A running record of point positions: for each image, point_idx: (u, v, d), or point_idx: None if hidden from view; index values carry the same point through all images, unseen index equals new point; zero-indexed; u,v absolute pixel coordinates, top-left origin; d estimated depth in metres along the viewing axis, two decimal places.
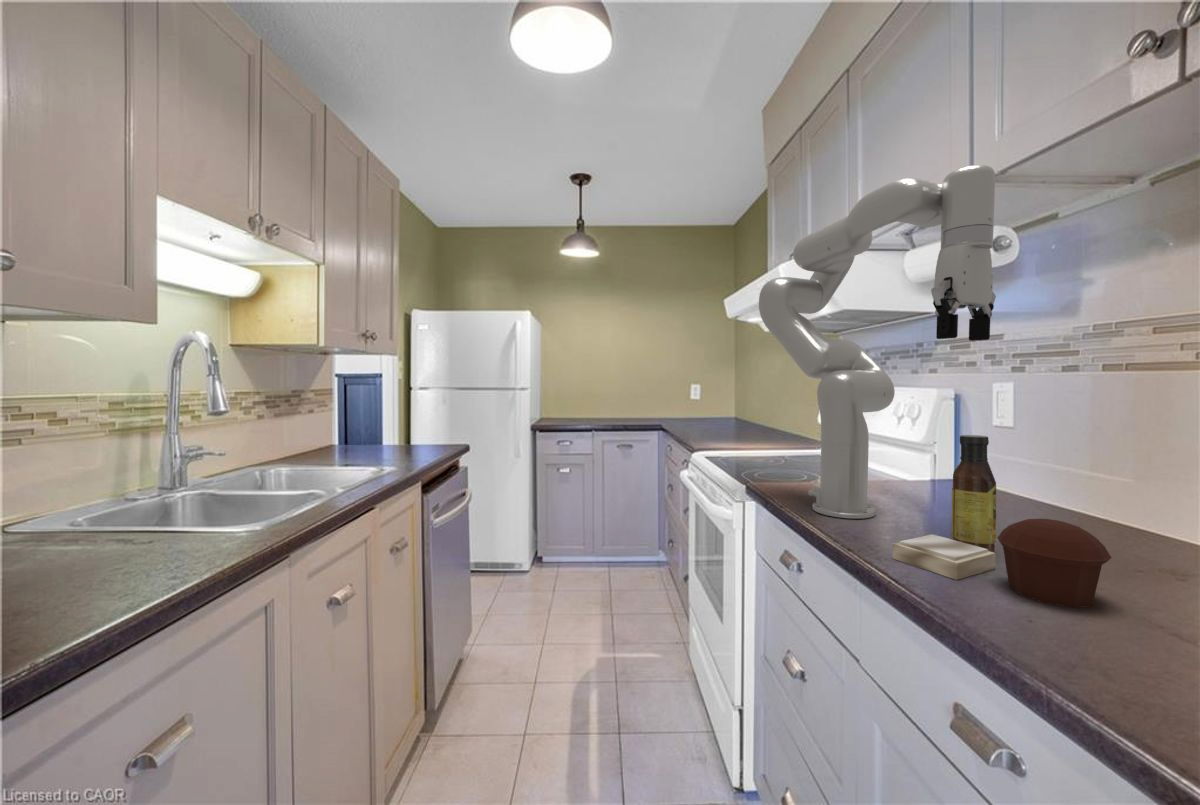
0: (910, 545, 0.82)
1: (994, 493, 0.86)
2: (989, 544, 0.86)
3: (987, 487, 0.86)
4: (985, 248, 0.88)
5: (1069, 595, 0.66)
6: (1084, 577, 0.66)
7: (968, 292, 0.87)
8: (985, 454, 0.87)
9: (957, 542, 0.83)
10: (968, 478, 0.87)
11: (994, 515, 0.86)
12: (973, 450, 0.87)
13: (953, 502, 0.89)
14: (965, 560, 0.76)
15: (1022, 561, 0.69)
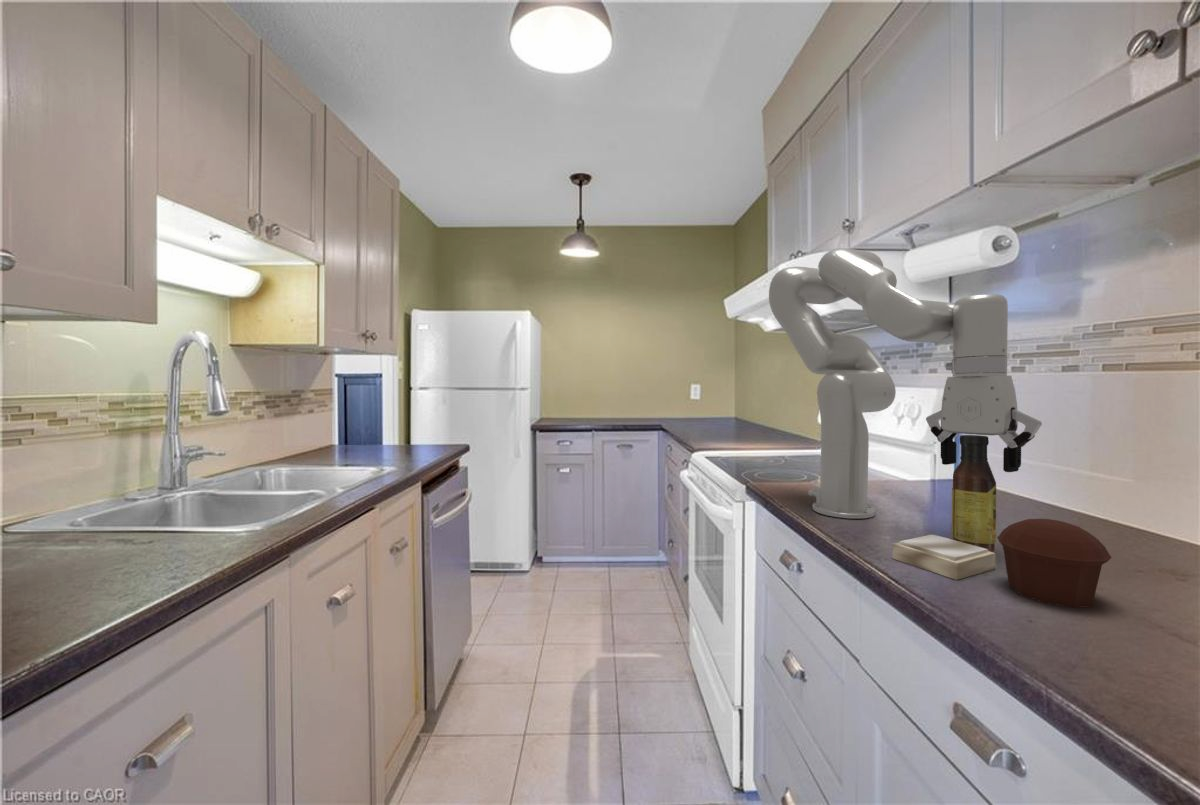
0: (910, 545, 0.82)
1: (994, 493, 0.86)
2: (989, 544, 0.86)
3: (987, 487, 0.86)
4: None
5: (1069, 595, 0.66)
6: (1084, 577, 0.66)
7: None
8: (985, 454, 0.87)
9: (957, 542, 0.83)
10: (968, 478, 0.87)
11: (994, 515, 0.86)
12: (973, 450, 0.87)
13: (953, 502, 0.89)
14: (965, 560, 0.76)
15: (1022, 561, 0.69)
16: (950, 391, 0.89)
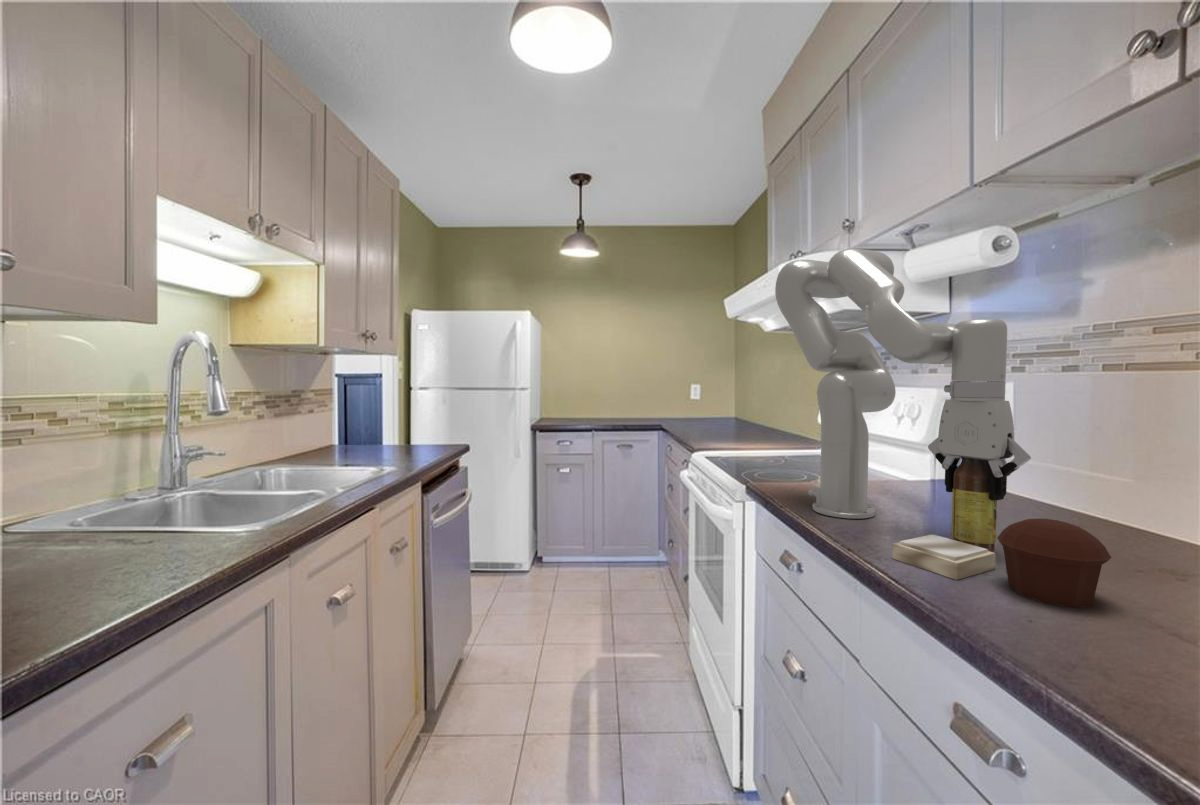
0: (910, 545, 0.82)
1: None
2: (989, 544, 0.86)
3: (988, 488, 0.85)
4: None
5: (1069, 595, 0.66)
6: (1084, 577, 0.66)
7: None
8: None
9: (957, 542, 0.83)
10: (969, 478, 0.87)
11: (994, 515, 0.86)
12: None
13: (953, 502, 0.89)
14: (965, 560, 0.76)
15: (1022, 561, 0.69)
16: (948, 414, 0.90)
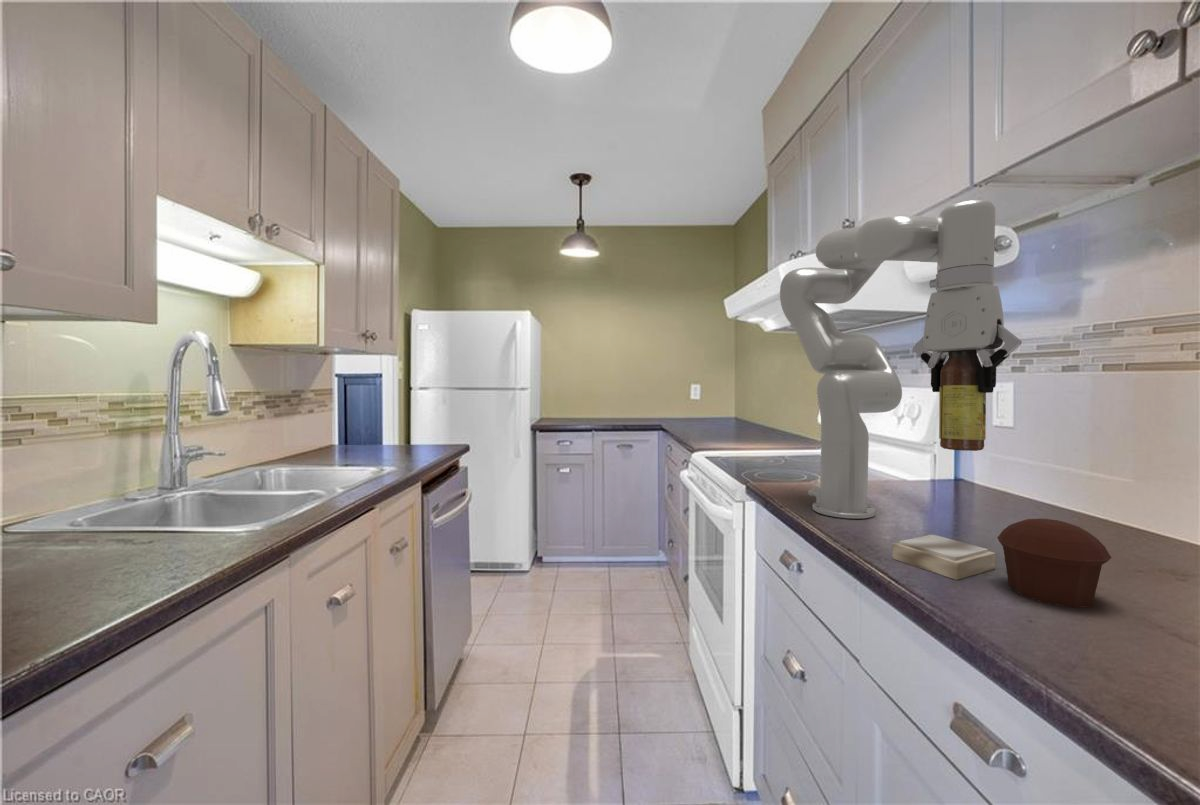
0: (910, 545, 0.82)
1: None
2: (979, 440, 0.81)
3: (977, 380, 0.80)
4: None
5: (1069, 595, 0.66)
6: (1084, 577, 0.66)
7: None
8: None
9: (957, 542, 0.83)
10: (957, 371, 0.81)
11: (984, 410, 0.81)
12: None
13: (941, 400, 0.84)
14: (965, 560, 0.76)
15: (1022, 561, 0.69)
16: (934, 307, 0.84)
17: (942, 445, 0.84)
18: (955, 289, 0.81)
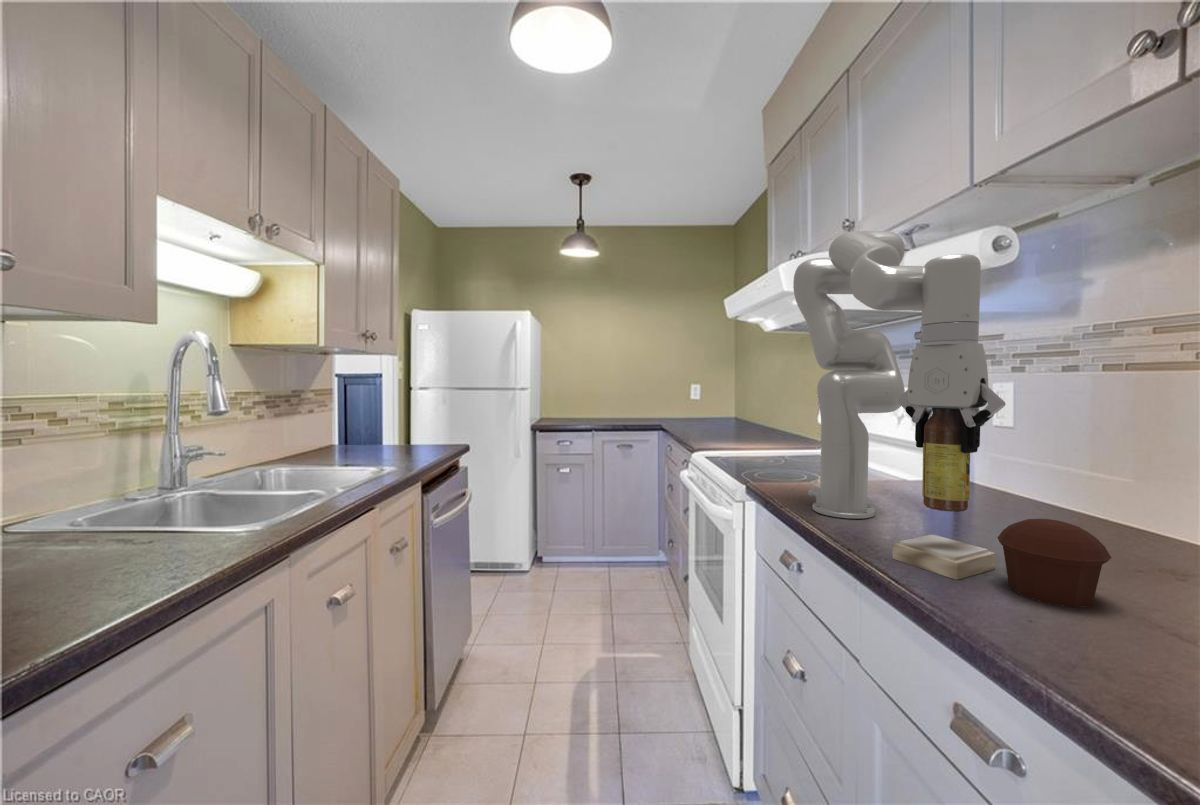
0: (910, 545, 0.82)
1: None
2: (961, 501, 0.78)
3: (960, 439, 0.78)
4: None
5: (1069, 595, 0.66)
6: (1084, 577, 0.66)
7: None
8: None
9: (957, 542, 0.83)
10: (939, 429, 0.79)
11: (967, 470, 0.79)
12: None
13: (924, 457, 0.82)
14: (965, 560, 0.76)
15: (1022, 561, 0.69)
16: (917, 361, 0.82)
17: (925, 503, 0.81)
18: (938, 345, 0.79)
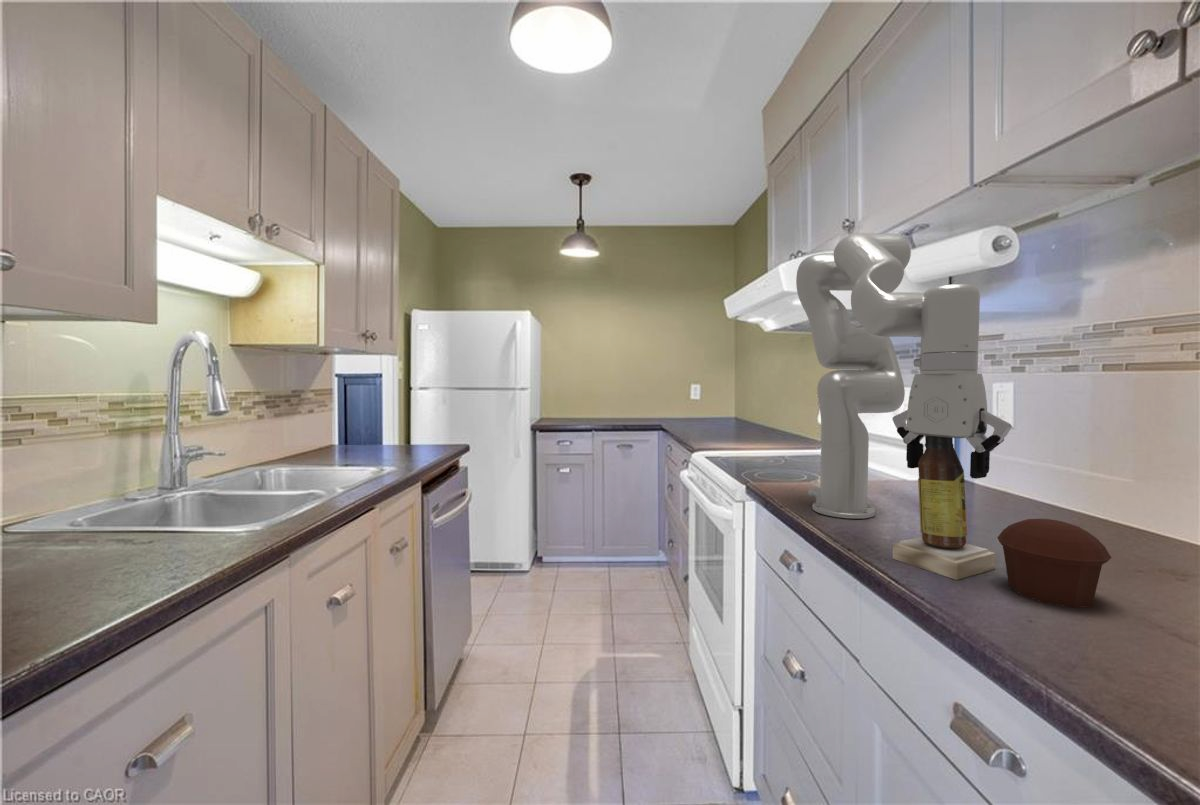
0: (910, 545, 0.82)
1: (962, 481, 0.79)
2: (959, 537, 0.79)
3: (953, 475, 0.79)
4: None
5: (1069, 595, 0.66)
6: (1084, 577, 0.66)
7: None
8: (950, 440, 0.81)
9: None
10: (933, 465, 0.80)
11: (963, 505, 0.79)
12: (937, 436, 0.81)
13: (920, 493, 0.83)
14: (965, 560, 0.76)
15: (1022, 561, 0.69)
16: (917, 389, 0.82)
17: (923, 540, 0.82)
18: (937, 374, 0.79)
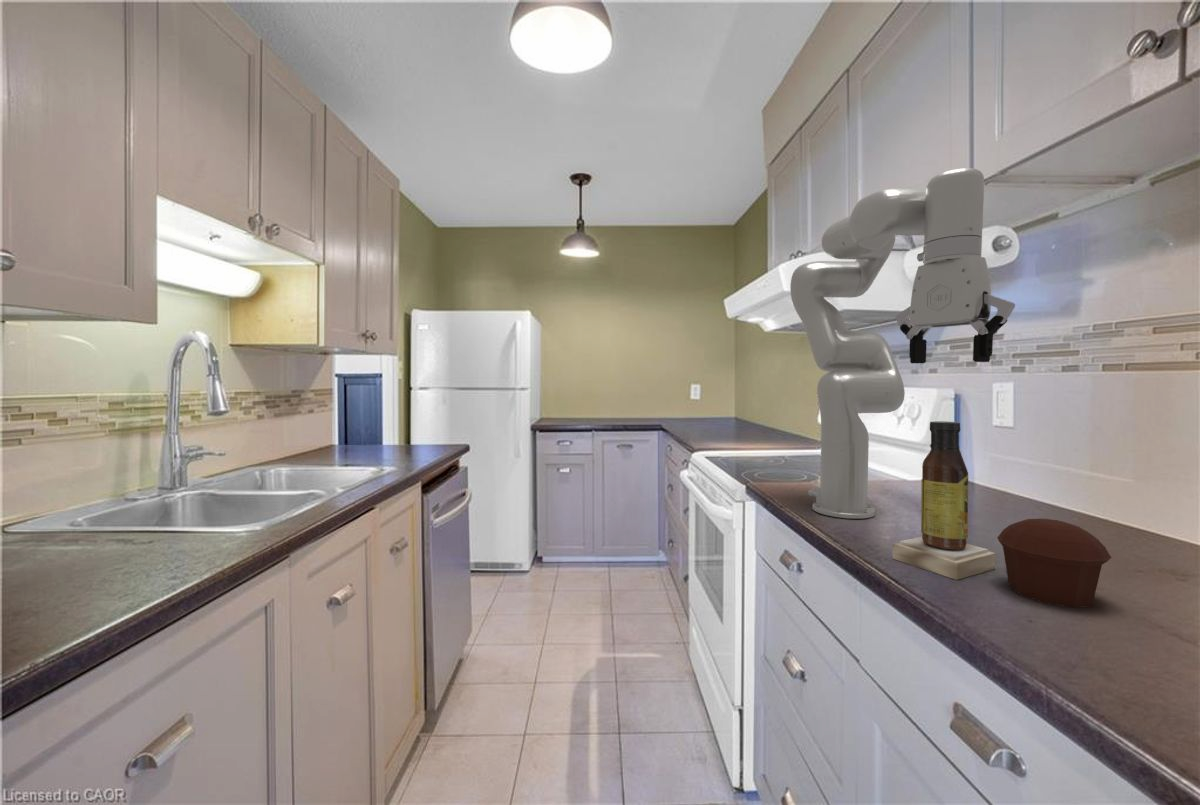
0: (910, 545, 0.82)
1: (965, 484, 0.79)
2: (960, 539, 0.79)
3: (957, 478, 0.79)
4: None
5: (1069, 595, 0.66)
6: (1084, 577, 0.66)
7: None
8: (956, 441, 0.80)
9: None
10: (937, 467, 0.80)
11: (965, 508, 0.79)
12: (943, 437, 0.80)
13: (922, 494, 0.82)
14: (965, 560, 0.76)
15: (1022, 561, 0.69)
16: (920, 281, 0.82)
17: (923, 540, 0.82)
18: (941, 261, 0.79)
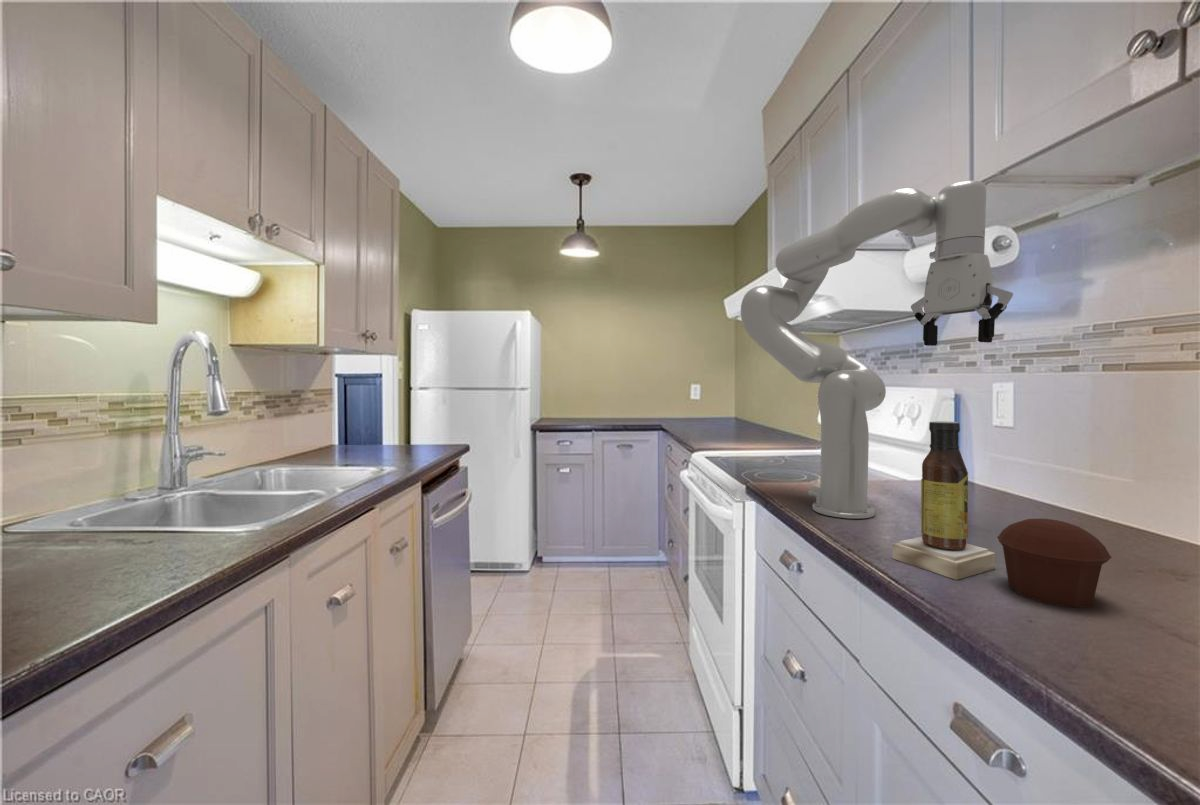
0: (910, 545, 0.82)
1: (965, 484, 0.79)
2: (960, 539, 0.79)
3: (957, 478, 0.79)
4: None
5: (1069, 595, 0.66)
6: (1084, 577, 0.66)
7: None
8: (956, 441, 0.80)
9: None
10: (937, 467, 0.80)
11: (965, 508, 0.79)
12: (942, 437, 0.80)
13: (922, 494, 0.82)
14: (965, 560, 0.76)
15: (1022, 561, 0.69)
16: (932, 275, 0.97)
17: (923, 540, 0.82)
18: (950, 258, 0.94)
